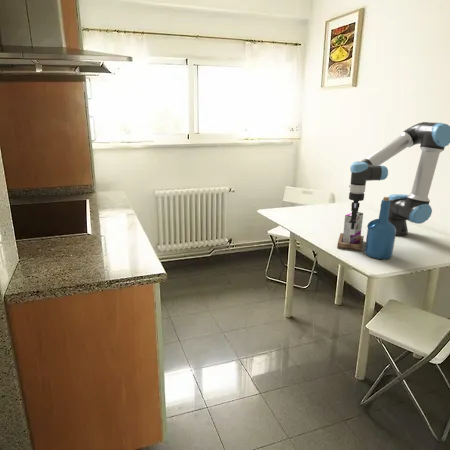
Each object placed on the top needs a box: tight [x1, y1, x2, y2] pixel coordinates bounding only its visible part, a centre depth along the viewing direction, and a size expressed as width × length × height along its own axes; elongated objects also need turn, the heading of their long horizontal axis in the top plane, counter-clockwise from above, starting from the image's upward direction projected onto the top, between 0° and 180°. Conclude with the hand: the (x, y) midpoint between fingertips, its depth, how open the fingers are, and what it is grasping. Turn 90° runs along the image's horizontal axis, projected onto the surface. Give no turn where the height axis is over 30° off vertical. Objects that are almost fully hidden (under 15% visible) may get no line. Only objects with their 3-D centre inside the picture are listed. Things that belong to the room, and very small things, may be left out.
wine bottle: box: [364, 196, 397, 260], centre depth 188 cm, size 14×13×30 cm
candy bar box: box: [342, 211, 364, 244], centre depth 205 cm, size 11×5×16 cm, turn 133°
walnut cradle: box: [336, 232, 365, 252], centre depth 207 cm, size 12×18×3 cm
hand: (352, 231), depth 205 cm, fingers open, 13 cm apart
